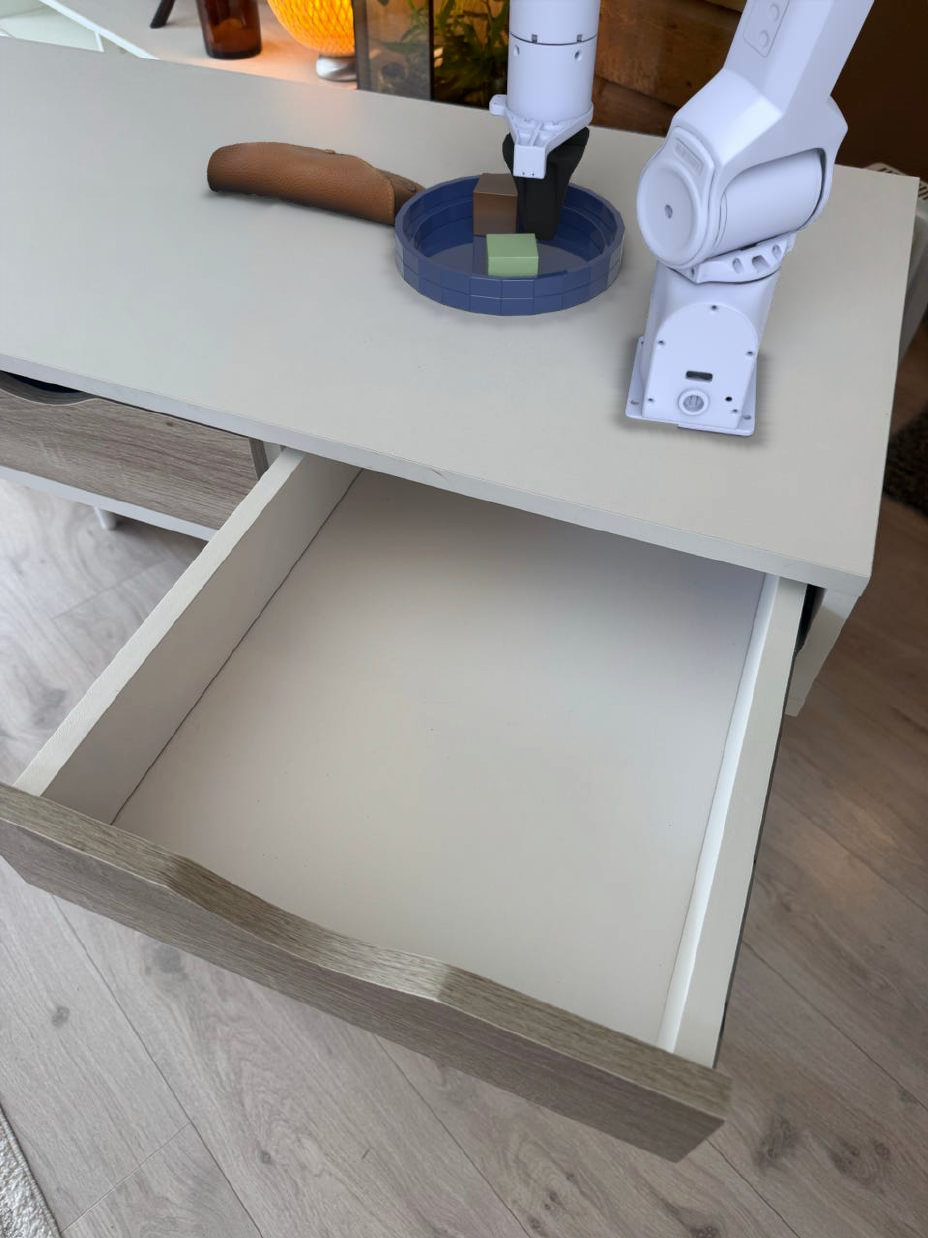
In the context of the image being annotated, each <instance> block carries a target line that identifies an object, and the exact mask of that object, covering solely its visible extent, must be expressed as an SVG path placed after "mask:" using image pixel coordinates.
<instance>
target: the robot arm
mask: <svg viewBox="0 0 928 1238" xmlns="http://www.w3.org/2000/svg"><path fill="white" fill-rule="evenodd" d="M601 2H602V0H509V21H508V23H509V24H508V53H507V54H508V57H507V86H506V87H507V90H506V94H495V95H493V96H492V97H491V99H490V101H489V108H488V109H489V110H488V111H489V114H490V115H492V116H496V117H502V118H504V121H505V124H506V125H507V129H508V131H509V132H508V133H507V134H506V135H505V137H504V139H503V141H502V143H501V144H502V145H501V152H502V157H503V161H504V163H505V164H506V166H507V168H508V170H509V172H510V173H511V174H512V177H513V180H514V183H515V186H516V189H517V193H518V198H519V204H520V210H521V217H522V223H523V228H524V233H525V234H535V239H538V240H547V241H552V240H553V237H554V235H555V232H556V229H557V226H558V223H559V220H560V216H561V212H562V208H563V204H564V200H565V196H566V191H567V187H568V184H569V182H570V179H571V178H572V176H573V174H574V172H575V170H576V169H577V167H578V165H579V164H580V162H581V160H582V158H583V156H584V153H585V151H586V147H587V144H588V142H589V139H590V132H591V130H590V128H589V127H588V125H589V124H591V122H592V120H593V116H594V104H593V101H592V96H593V87H594V77H595V76H594V74H595V65H596V56H597V55H596V54H597V43H598V34H599V33H598V32H599V22H600V14H601V13H600V11H601ZM874 2H875V0H746V3H745V5H744V8H743V11H742V14H741V17H740V18H739V23H738V25H737V28H736V29H735V30H736V31H735V33H734V36H733V38H732V42H731V44H730V47H729V50H728V53H727V55H726V58H725V61H724V62H723V63H724V64H723V66H722V68H721V69H720V70H719V71H718V72H717V73H716V74H715V75H714V77H712V78H711V79H710V80H709V81H708V82H707V83H706V84H705V85H704V86H703V87H702V88H701V89H699V91H697V92H696V93H695V94H694V95H693V96H692V97H691V98H690V99H689V100H688V101H687V102H686V103H685V104H684V105H683V106H682V107H681V108H680V109H678V111H677V112H676V113H675V114H674V115H673V117H672V119H671V121H670V122H671V123H670V125H669V128H668V131H667V134H666V135H665V138H664V140H663V142H662V144H661V145H660V146H659V148H658V149H657V150H656V151H655V152H654V153H653V154H652V155H651V156H650V157H649V158H648V160H647V161H646V163H645V164H644V165H643V168H642V170H641V173H640V176H639V179H638V184H637V188H636V199H635V200H636V201H635V211H636V220H637V223H638V228H639V230H640V234H641V236H642V239H643V240H644V242H645V244H646V246H647V248H648V252H649V254H650V255H652V256H653V257H655V258H656V262H655V267H654V268H655V270H654V274H653V280H652V288H651V293H650V301H649V305H648V312H647V318H646V324H645V330H644V335H641V336H639V338H638V340H637V346H636V350H635V354H634V355H635V356H634V361H633V367H632V371H631V377H630V383H629V388H628V393H627V398H626V404H625V409H624V415H625V416H626V417H628V418H631V419H637V420H645V421H652V422H661V423H667V424H673V425H677V428H682V429H691V430H698V431H704V432H713V433H720V434H728V435H736V436H742V437H749V436H752V435H753V434H754V431H755V426H756V395H757V394H756V393H757V371H758V370H757V369H758V368H757V367H758V355H759V350H760V347H761V344H762V340H763V336H764V332H765V328H766V324H767V321H768V317H769V314H770V310H771V305H772V302H773V298H774V294H775V290H776V287H777V283H778V279H779V276H780V272H781V268H782V264H783V260H784V258H785V256H786V255H788V254H789V253H792V252H793V249H794V246H795V243H796V239H797V235H798V232H800V231H804V230H805V229H807V228H808V227H810V226H812V224H814V223H815V222H816V221H817V220H818V219H819V217H820V216H821V215H822V213H823V212H824V210H825V208H826V206H827V205H828V201H829V198H830V195H831V192H832V186H833V177H834V167H835V163H836V157H837V154H838V151H839V149H840V146H841V144H842V142H843V140H844V138H845V136H846V134H847V132H848V129H849V127H848V123H847V122H846V119H845V116H844V115H843V113H842V111H841V110H840V108H839V106H838V104H837V103H836V101H835V100H834V98H833V97H832V96H831V94H832V91H833V89H834V88H835V85H836V83H837V80H838V79H839V76H840V74H841V73H842V69H843V68H844V66H845V64H846V62H847V60H848V58H849V55H850V53H851V51H852V49H853V47H854V44H855V43H856V40H857V38H858V36H859V34H860V32H861V30H862V27H863V26H864V24H865V21H866V19H867V17H868V15H869V13H870V11H871V8H872V7H873V4H874ZM635 403H637V404H635Z"/></svg>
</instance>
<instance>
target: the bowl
mask: <svg viewBox="0 0 928 1238" xmlns="http://www.w3.org/2000/svg"><path fill="white" fill-rule="evenodd" d="M502 174H503V175H512V174H511V172H510V173H509V172H508V173H507V172H506V173H502ZM481 175H482V174H476V175H469V176H460V177H457V178H453V179H449V180H446V181H443V182H438V183H436V184H434V185H432V186H430V187H428V188H426V189H425V190H423V191H421V192H419V193H417V194H416V195H414V196H413V197H412V198H411V199H409V200H408V201H407V202H406V203H404V204H403V206H402V207H401V209H400V211H399V212H398V214H397V216H396V218H395V226H394V241H395V258H396V267H397V269H398V270H399V272H400V274H401V276H402V278H403V280H404V281H405V282H406V283H407V284H408V285H410V286H411V287H412V288H413V289H414V290H415V291H417V292H418V293H419V294H421V295H423V296H425V297H426V298H429V299H430V300H433V301H435V302H437V303H440V304H441V305H444V306H448V307H451V308H455V309H459V310H462V311H466V312H471V313H478V314H487V315H493V316H494V315H496V316H501V317H504V316H533V315H538V314H539V315H540V314H544V313H551V312H557V311H562V310H566V309H569V308H572V307H575V306H577V305H580V304H583V303H587V302H588V301H590V300H591V299H593V298H595V297H597V296H598V295H600V294H602V293H603V292H605V291H606V290H607V289H608V288H609V286H611V284H612V283H613V282H614V281H615V280H616V278H617V277H618V275H619V272H620V267H621V263H622V258H623V250H624V249H623V248H624V242H625V235H626V234H625V233H626V225H625V222H624V219H623V217H622V214H621V212H620V211H619V210H618V209H617V208H616V207H615V205H613V203H612V202H611V201H610V200H608V199H607V198H605V197H603V196H602V195H600V194H599V193H597V192H595V191H593V190H592V189H589V188H587V187H584V186H582V185H580V184H576V183H575V182H572V181H569V184H568V187H567V191H566V196H565V200H564V204H563V208H562V212H561V216H560V220H559V223H558V226H557V229H556V232H555V235H554V237H553V240H552V241H547V240H538V239H536V245H537V251H538V257H539V259H538V275H535V276H494V275H486V236H480V235H473V191H474V189H475V187H476V185H477V183H478V181H479V179H480V177H481ZM518 234H525V233H524V228H523V223H522V225H521V227H520V230H519V232H518Z"/></svg>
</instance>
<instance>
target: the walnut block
mask: <svg viewBox="0 0 928 1238" xmlns="http://www.w3.org/2000/svg"><path fill="white" fill-rule="evenodd" d="M503 174H504V173H490V172H482V173H481V174H480V175H481V177H480V179H479V181H478V183H477V185H476V187H475V189H474V191H473V235H480V236H486V235H487V234H518V232H519V230H520V227H521V225H522V217H521V210H520V204H519V198H518V193H517V189H516V186H515V183H514V180H513V177H512V175H503Z"/></svg>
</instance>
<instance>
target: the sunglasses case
mask: <svg viewBox="0 0 928 1238" xmlns="http://www.w3.org/2000/svg"><path fill="white" fill-rule="evenodd" d="M206 180H207V184H208V187H209V189H210V190H211V191H212V192H215V193H219V192H226V193H230V194H232V193H233V194H242V195H246V196H252V195H255V196H258V197H264V198H276V199H278V200H281V201H282V200H283V201H287V202H291V203H294V204H299V205H302V206H309V207H315V208H322V209H324V210H327V211H331V212H335V213H340V214H344V215H349V216H354V217H357V218H358V217H359V218H362V219H367V220H370V221H376V222H379V223H382V224H386V225H393V226H394V227H395V218H396V216H397V214H398V212H399V211H400V209H401V207H402V206H403V204H404V203H406V202H407V201H408V200H409V199H411V198H412V197H413V196H414V195H416V194H417V193H419V192H421V191H423V190H425V189H427V188H426V187H425V186H423V185H421V184H420V183H418V182H416V181H414V180H411V179H410V178H406V177H405V176H403V175H399V174H396V173H394V172H390V171H387V170H385V169H381V168H377V167H374V166H373V165H372V164H370V162H367V161H366V160H364V159H362V158H360V157H358V156H356V155H352V154H346V153H339V152H336V150H333V149H329V148H328V149H327V148H326V149H321V148H318V147H312V146H303V145H298V144H292V143H287V142H277V141H254V142H253V141H251V142H240V143H233V144H229V145H223V146H220V147H218V148H217V149H215V151H213V152H212V154H211V155H210V157H209V160H208V164H207V167H206Z"/></svg>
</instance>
